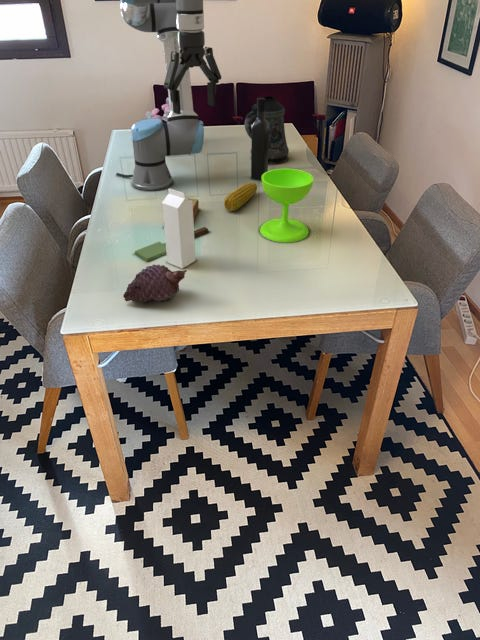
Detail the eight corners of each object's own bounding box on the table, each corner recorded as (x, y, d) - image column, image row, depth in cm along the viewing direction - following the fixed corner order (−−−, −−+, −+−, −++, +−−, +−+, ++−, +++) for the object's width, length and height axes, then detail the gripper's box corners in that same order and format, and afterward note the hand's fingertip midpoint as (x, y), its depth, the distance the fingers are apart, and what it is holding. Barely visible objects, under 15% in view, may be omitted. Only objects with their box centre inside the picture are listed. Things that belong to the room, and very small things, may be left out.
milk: (180, 254, 156) (175, 184, 143) (196, 260, 153) (192, 189, 140) (166, 262, 152) (160, 191, 139) (182, 269, 149) (177, 196, 136)
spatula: (147, 261, 152) (146, 257, 151) (135, 253, 156) (134, 249, 155) (212, 234, 166) (212, 230, 165) (200, 228, 170) (200, 224, 169)
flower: (157, 132, 249) (140, 87, 228) (202, 129, 245) (189, 83, 224) (150, 162, 240) (132, 119, 218) (197, 160, 236) (183, 116, 214)
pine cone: (130, 316, 130) (113, 280, 128) (132, 312, 139) (117, 278, 138) (195, 289, 131) (179, 253, 129) (192, 287, 141) (178, 253, 139)
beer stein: (294, 156, 227) (298, 96, 212) (273, 169, 213) (275, 106, 199) (262, 149, 234) (264, 90, 219) (239, 162, 221) (239, 100, 206)
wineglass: (275, 246, 160) (278, 191, 149) (251, 226, 171) (252, 173, 160) (318, 235, 166) (323, 181, 155) (292, 216, 177) (295, 165, 166)
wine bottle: (250, 179, 205) (251, 99, 187) (255, 174, 209) (256, 95, 191) (263, 181, 203) (265, 100, 185) (268, 176, 207) (271, 97, 190)
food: (236, 215, 178) (236, 198, 174) (221, 212, 180) (221, 196, 176) (260, 193, 193) (260, 178, 190) (246, 190, 195) (246, 175, 192)
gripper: (163, 36, 137) (169, 119, 149) (232, 27, 150) (232, 104, 163) (146, 33, 141) (154, 114, 154) (215, 25, 155) (217, 100, 167)
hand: (194, 109), depth 158 cm, fingers open, 13 cm apart
